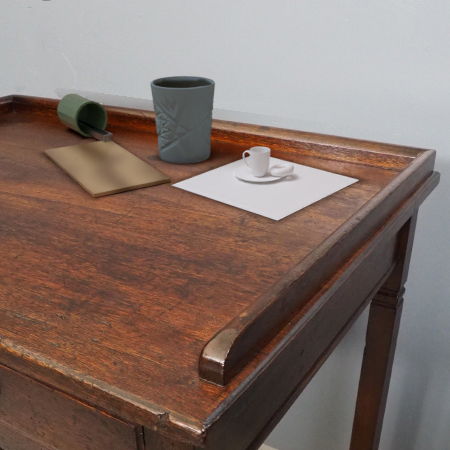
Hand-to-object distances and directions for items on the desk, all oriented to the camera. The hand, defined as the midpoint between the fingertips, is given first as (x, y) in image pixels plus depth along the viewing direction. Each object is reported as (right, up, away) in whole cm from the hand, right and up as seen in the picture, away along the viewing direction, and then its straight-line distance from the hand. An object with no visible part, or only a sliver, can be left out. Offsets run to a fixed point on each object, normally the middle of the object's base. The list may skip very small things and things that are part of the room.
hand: (50, 0), depth 109 cm
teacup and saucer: (+37, -36, -17) cm, 54 cm away
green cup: (+2, -17, +9) cm, 19 cm away
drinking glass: (+24, -29, -5) cm, 38 cm away
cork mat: (+11, -32, -10) cm, 35 cm away
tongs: (+6, -22, +4) cm, 23 cm away
